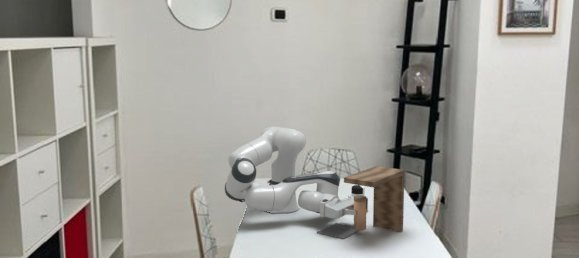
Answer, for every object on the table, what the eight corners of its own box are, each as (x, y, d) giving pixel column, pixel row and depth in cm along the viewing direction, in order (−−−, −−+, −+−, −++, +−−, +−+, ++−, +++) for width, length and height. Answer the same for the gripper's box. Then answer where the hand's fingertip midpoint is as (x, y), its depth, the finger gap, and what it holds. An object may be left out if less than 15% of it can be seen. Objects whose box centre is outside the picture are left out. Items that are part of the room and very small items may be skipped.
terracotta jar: (351, 229, 234) (351, 197, 231) (357, 225, 238) (357, 194, 236) (362, 231, 231) (362, 199, 228) (368, 227, 235) (368, 196, 233)
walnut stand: (343, 241, 226) (343, 177, 222) (375, 225, 246) (376, 166, 242) (372, 248, 218) (373, 182, 214) (402, 230, 238) (404, 169, 234)
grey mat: (316, 233, 236) (316, 231, 236) (336, 223, 248) (336, 222, 248) (343, 239, 229) (343, 237, 228) (362, 229, 240) (362, 228, 240)
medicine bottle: (353, 213, 263) (353, 188, 261) (347, 209, 270) (348, 184, 268) (367, 212, 265) (368, 187, 263) (361, 208, 272) (362, 183, 270)
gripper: (343, 207, 250) (371, 212, 242) (318, 217, 234) (347, 224, 226) (344, 193, 249) (372, 198, 241) (318, 202, 233) (348, 209, 225)
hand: (360, 211), depth 233 cm, fingers closed on terracotta jar, 5 cm apart
